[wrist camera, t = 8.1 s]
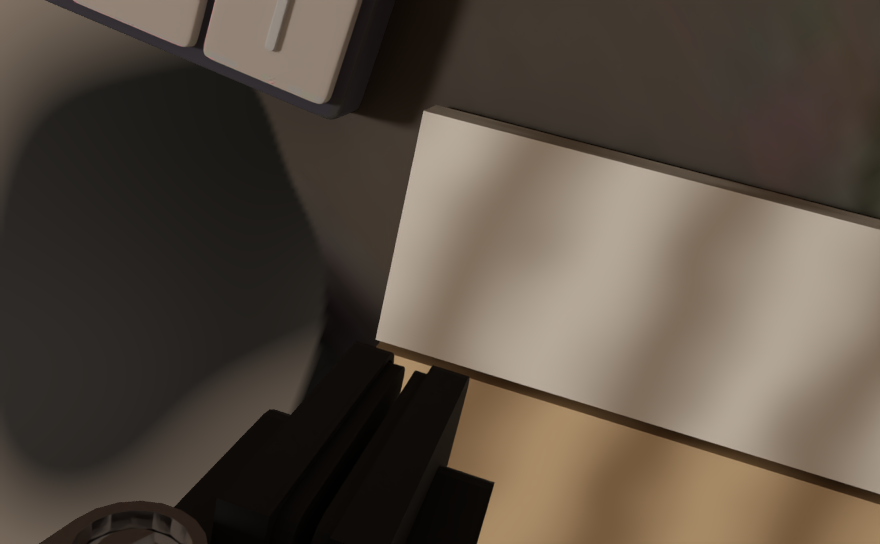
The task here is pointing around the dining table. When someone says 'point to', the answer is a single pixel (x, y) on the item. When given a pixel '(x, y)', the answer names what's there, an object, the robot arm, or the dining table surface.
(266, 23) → the calculator
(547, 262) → the ash plank
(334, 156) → the dining table surface
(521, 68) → the dining table surface
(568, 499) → the oak board
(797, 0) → the dining table surface
